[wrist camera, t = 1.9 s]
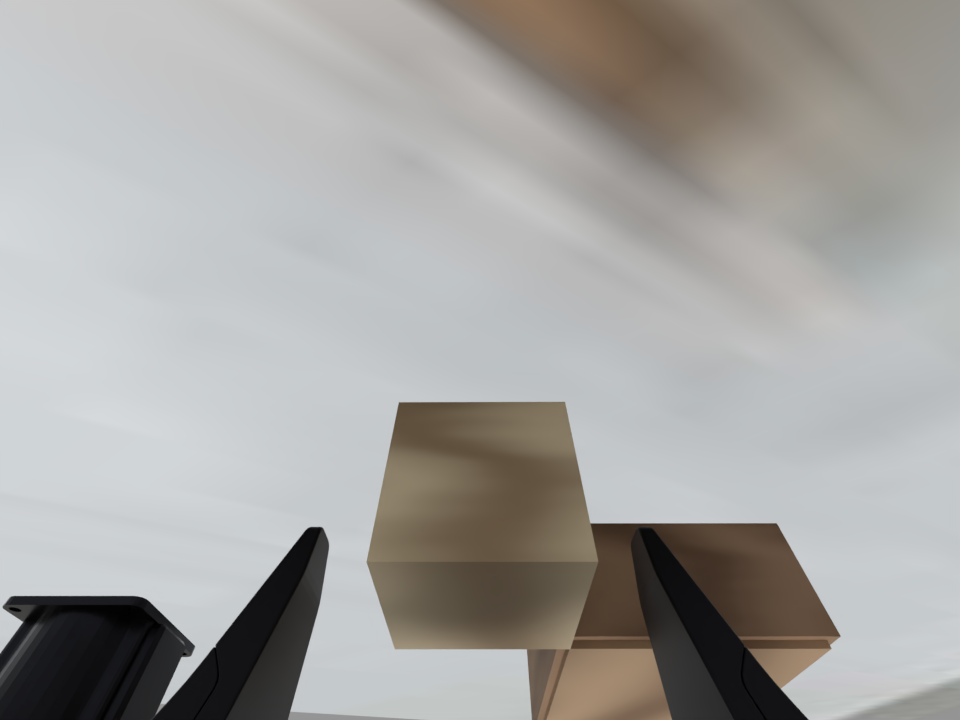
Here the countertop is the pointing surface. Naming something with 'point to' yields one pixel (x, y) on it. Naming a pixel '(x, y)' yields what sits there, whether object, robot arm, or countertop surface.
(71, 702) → the robot arm
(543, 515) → the oak cube
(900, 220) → the countertop surface
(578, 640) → the walnut box
